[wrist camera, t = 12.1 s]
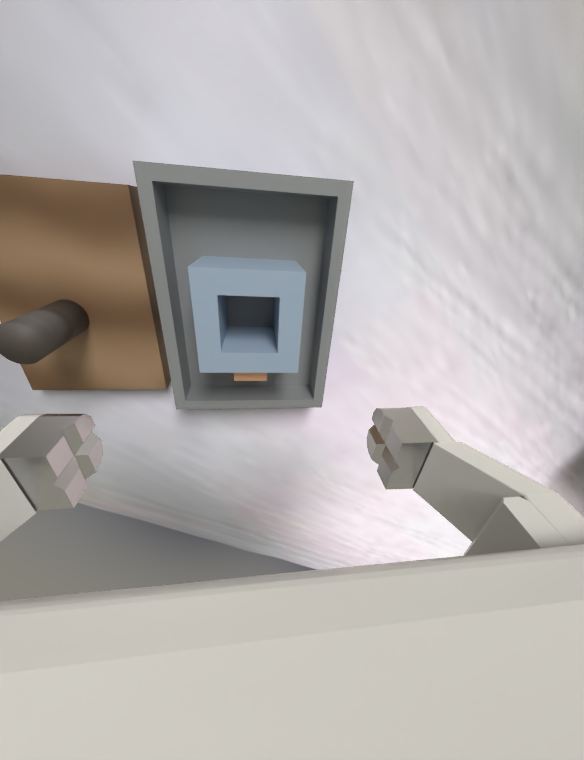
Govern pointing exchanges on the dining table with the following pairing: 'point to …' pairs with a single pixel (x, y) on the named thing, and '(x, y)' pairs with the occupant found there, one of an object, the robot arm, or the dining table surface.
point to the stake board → (78, 286)
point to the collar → (247, 344)
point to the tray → (243, 240)
